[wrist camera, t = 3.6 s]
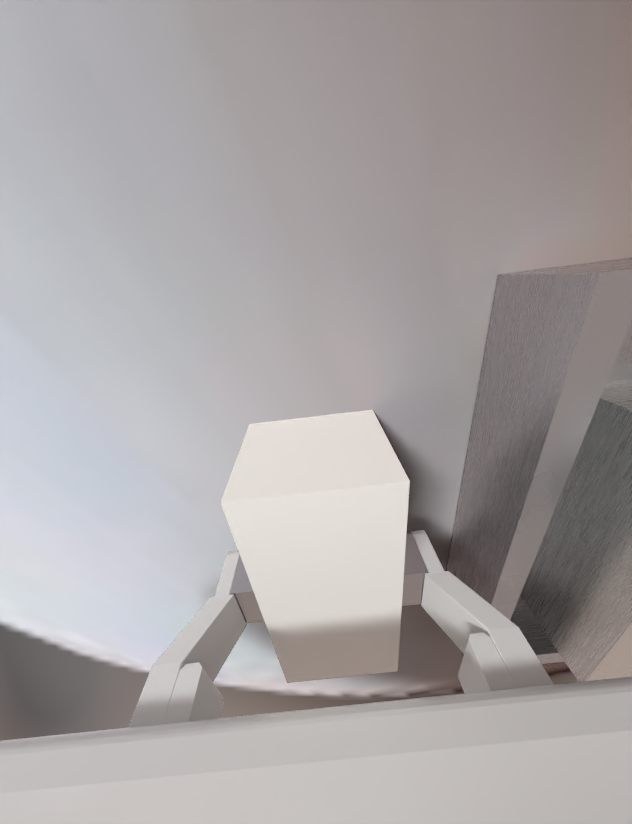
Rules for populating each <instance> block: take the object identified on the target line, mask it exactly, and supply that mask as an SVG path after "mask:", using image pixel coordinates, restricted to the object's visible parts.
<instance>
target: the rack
mask: <svg viewBox="0 0 632 824" xmlns="http://www.w3.org/2000/svg"><path fill="white" fill-rule="evenodd" d="M446 571H450V572H451V573H452V574H453V575H454V576H456V577H457V578H458V579H459V580H461V581H462V582H463V583H464V584H466V585H467V586H468V587H469V588H471V589H472V590H473V591H474V592H475V593H477V594H478V595H479V596H480V597H482V598H483V599H484V600H485V601H487V602H488V603H489V604H490V605H492V606H493V607H494V608H495V609H497V610H498V611H499V612H500V613H501V614H503V615H504V616H505V617H506V618H508V619H509V620H510V621H511V622H513V623H514V624H515V625H516V626H518V627H519V628H520V630H521V632H522V633H523V635H524V637H525V638H526V640H527V641H528V643H529V645H530V646H531V648H532V650H533V651H534V653H535V654H536V656H537V658H538V659H539V661H540V663H541V664H545V663H555V662H565V663H566V664H567V666H568V667H569V669H570V670H571V672H572V673H573V675H574V676H575V678H576V679H577V681H578V682H583V681H592V680H602V679H612V678H622V677H632V258H630V259H622V260H614V261H606V262H598V263H590V264H582V265H574V266H566V267H558V268H550V269H541V270H533V271H525V272H517V273H509V274H501V275H498V280H497V286H496V291H495V297H494V303H493V309H492V314H491V320H490V326H489V331H488V337H487V343H486V348H485V354H484V360H483V365H482V371H481V377H480V382H479V388H478V394H477V399H476V405H475V411H474V416H473V422H472V428H471V433H470V439H469V445H468V450H467V456H466V462H465V468H464V473H463V479H462V485H461V490H460V496H459V502H458V507H457V513H456V519H455V524H454V530H453V536H452V541H451V547H450V553H449V558H448V564H447V570H446ZM461 653H462V655H463V656H464V654H463V652H462V651H461Z"/></svg>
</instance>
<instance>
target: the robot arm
mask: <svg viewBox="0 0 632 824" xmlns="http://www.w3.org/2000/svg"><path fill="white" fill-rule="evenodd" d="M419 604H421V606H422V607H423V608H424V610H425V611H426V612H427V613H428V614H429V615H430V616H431V617H432V619H433V620H434V621H435V622H436V623H437V624H438V625H439V626H440V628H441V629H442V630H443V631H444V632H445V633H446V634H447V635H448V637H449V638H450V639H451V640H452V641H453V642H454V643H455V645H456V646H457V647H458V648H459V649H460V650H461V651H462V652H463V654H464V656H463V659H462V663H461V666H460V669H459V673H458V678H459V681H460V683H461V686H462V689H463V691H464V694H455V695H445V696H436V697H426V698H416V699H407V700H396V701H386V702H377V703H367V704H359V705H358V704H357V705H347V706H339V707H338V706H337V707H328V708H318V709H308V710H298V711H288V712H279V713H269V714H260V715H249V716H239V717H230V718H221V712H222V707H223V701H224V700H223V698H222V696H221V694H220V693H219V691H218V690H217V688H216V687H215V685H214V684H213V681H214V679H215V678H216V676H217V674H218V673H219V671H220V669H221V668H222V666H223V664H224V662H225V661H226V659H227V657H228V656H229V654H230V652H231V651H232V649H233V647H234V645H235V644H236V642H237V640H238V639H239V637H240V635H241V634H242V632H243V630H244V628H245V627H246V625H247V624H246V623H251V622H258V621H264V619H263V616H262V613H261V611H260V608H259V605H258V602H257V600H256V597H255V594H254V592H253V589H252V586H251V583H250V581H249V578H248V575H247V573H246V570H245V567H244V565H243V562H242V559H241V556H240V554H239V551H229V552H228V553H227V555H226V557H225V561H224V564H223V568H222V571H221V575H220V579H219V582H218V586H217V589H216V593H215V596H212V597H210V598H209V599H208V600H207V602H206V603H205V604H204V605H203V606H202V607H201V609H200V610H199V611H198V612H197V613H196V615H195V616H194V617H193V618H192V619H191V621H190V622H189V623H188V624H187V625H186V626H185V628H184V629H183V630H182V631H181V632H180V634H179V635H178V636H177V637H176V638H175V640H174V641H173V642H172V643H171V644H170V645H169V647H168V648H167V649H166V650H165V651H164V653H163V654H162V655H161V656H160V657H159V659H158V660H157V661H156V662H155V663H154V664H153V666H152V668H151V671H150V673H149V676H148V678H147V681H146V683H145V686H144V689H143V691H142V694H141V696H140V699H139V701H138V704H137V706H136V709H135V712H134V714H133V716H132V719H131V721H130V724H129V727H128V728H123V729H112V730H102V731H93V732H83V733H73V734H64V735H53V736H44V737H34V738H24V739H16V740H5V741H0V824H632V677H622V678H612V679H602V680H592V681H583V682H573V683H563V684H553V682H552V681H551V679H550V677H549V676H548V674H547V672H546V671H545V669H544V668H543V666H542V664H541V663H540V661H539V659H538V658H537V656H536V654H535V653H534V651H533V650H532V648H531V646H530V645H529V643H528V641H527V640H526V638H525V637H524V635H523V633H522V632H521V630H520V628H519V627H518V626H516V625H515V624H514V623H513V622H511V621H510V620H509V619H508V618H506V617H505V616H504V615H503V614H501V613H500V612H499V611H498V610H497V609H495V608H494V607H493V606H492V605H490V604H489V603H488V602H487V601H485V600H484V599H483V598H482V597H480V596H479V595H478V594H477V593H475V592H474V591H473V590H472V589H471V588H469V587H468V586H467V585H466V584H464V583H463V582H462V581H461V580H459V579H458V578H457V577H456V576H454V575H453V574H452V573H451V572H450V571H444V569H443V567H442V565H441V563H440V561H439V558H438V556H437V554H436V552H435V550H434V548H433V546H432V544H431V542H430V540H429V538H428V536H427V534H426V532H425V531H424V530H418V531H411V532H410V531H407V533H406V548H405V564H404V580H403V596H402V606H406V605H419Z"/></svg>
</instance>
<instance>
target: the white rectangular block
mask: <svg viewBox="0 0 632 824" xmlns="http://www.w3.org/2000/svg"><path fill="white" fill-rule="evenodd" d="M409 486H410V481H409V479H408V477H407V475H406V473H405V471H404V469H403V467H402V465H401V463H400V461H399V459H398V458H397V456H396V454H395V452H394V450H393V448H392V446H391V444H390V442H389V440H388V438H387V437H386V435H385V433H384V431H383V429H382V427H381V425H380V423H379V421H378V419H377V417H376V415H375V414H374V412H373V410H366V411H357V412H349V413H340V414H332V415H323V416H315V417H306V418H297V419H289V420H280V421H272V422H263V423H255V424H249V427H248V430H247V432H246V435H245V438H244V441H243V443H242V446H241V449H240V451H239V454H238V457H237V460H236V462H235V465H234V468H233V470H232V473H231V476H230V478H229V481H228V484H227V487H226V489H225V492H224V495H223V497H222V500H221V505H222V508H223V510H224V513H225V516H226V519H227V521H228V524H229V527H230V529H231V532H232V535H233V537H234V540H235V543H236V546H237V548H238V551H239V554H240V556H241V559H242V562H243V565H244V567H245V570H246V573H247V575H248V578H249V581H250V583H251V586H252V589H253V592H254V594H255V597H256V600H257V602H258V605H259V608H260V611H261V613H262V616H263V619H264V621H265V624H266V627H267V630H268V632H269V635H270V638H271V640H272V643H273V646H274V648H275V651H276V654H277V657H278V659H279V662H280V665H281V667H282V670H283V673H284V676H285V678H286V681H287V683H291V682H301V681H311V680H320V679H330V678H339V677H349V676H358V675H368V674H377V673H387V672H396V671H398V658H399V643H400V627H401V611H402V596H403V580H404V564H405V548H406V533H407V517H408V501H409Z"/></svg>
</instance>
